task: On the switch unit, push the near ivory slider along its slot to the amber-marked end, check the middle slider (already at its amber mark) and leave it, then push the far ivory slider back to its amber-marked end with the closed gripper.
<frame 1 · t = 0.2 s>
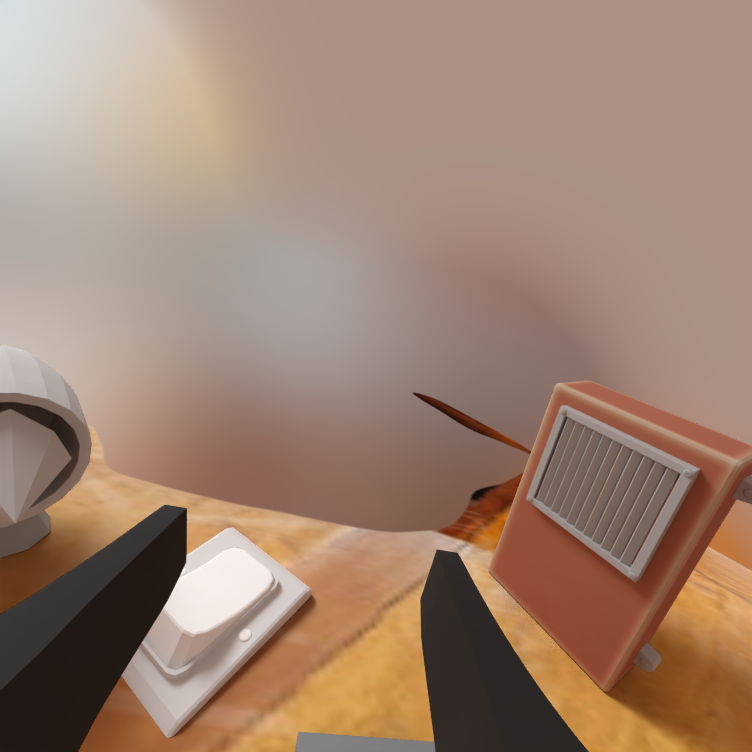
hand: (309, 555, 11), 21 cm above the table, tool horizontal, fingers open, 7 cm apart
control panel: (553, 614, 35), on the table
light switch: (208, 617, 30), on the table
jet engine: (6, 556, 31), on the table
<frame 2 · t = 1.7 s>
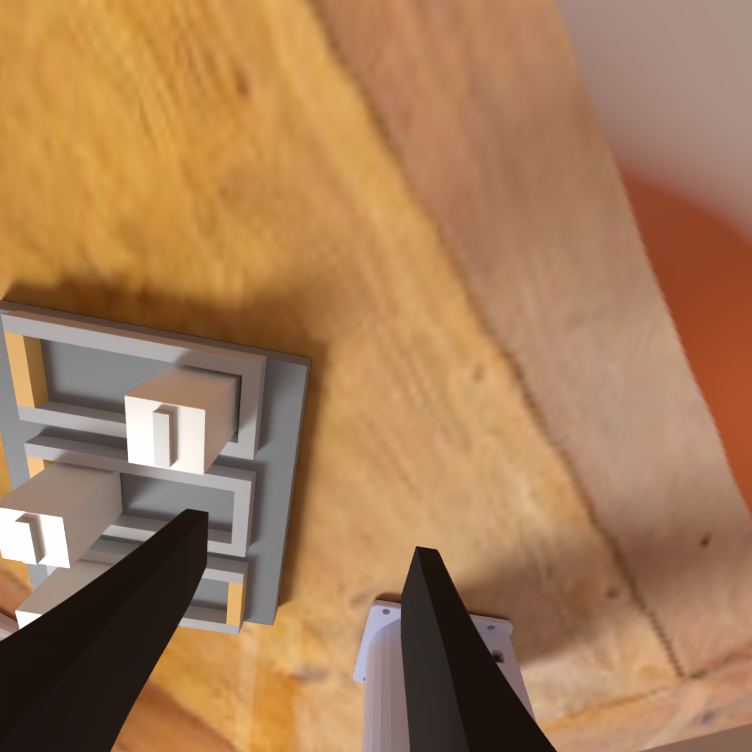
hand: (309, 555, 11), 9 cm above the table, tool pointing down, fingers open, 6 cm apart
switch unit: (162, 479, 21), on the table
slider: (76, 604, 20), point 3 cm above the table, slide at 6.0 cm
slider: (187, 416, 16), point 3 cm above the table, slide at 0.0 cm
slider mid: (62, 511, 18), point 3 cm above the table, slide at 6.0 cm
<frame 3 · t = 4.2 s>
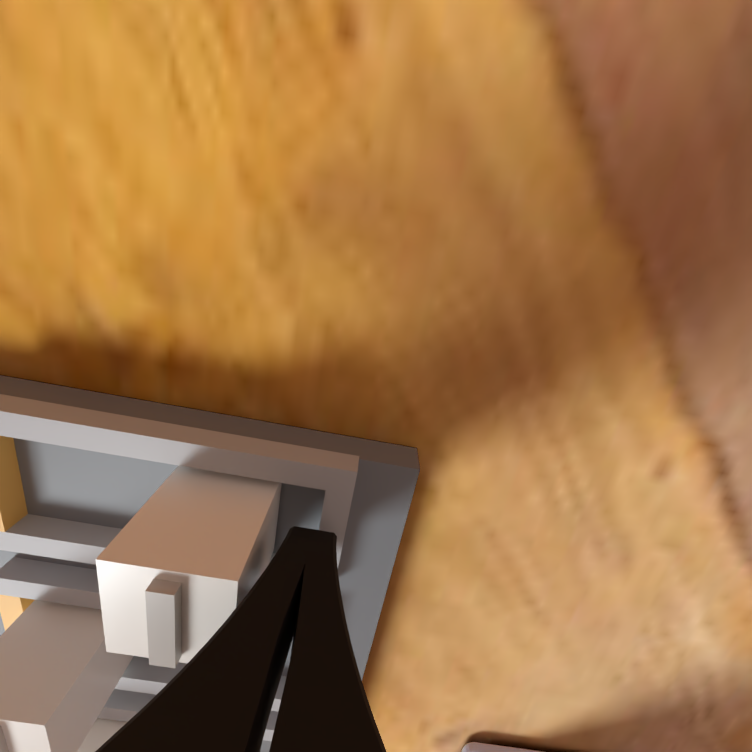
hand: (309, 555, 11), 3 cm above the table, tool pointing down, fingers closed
switch unit: (190, 601, 15), on the table
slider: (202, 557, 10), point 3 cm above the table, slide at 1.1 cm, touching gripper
slider mid: (48, 681, 12), point 3 cm above the table, slide at 6.0 cm
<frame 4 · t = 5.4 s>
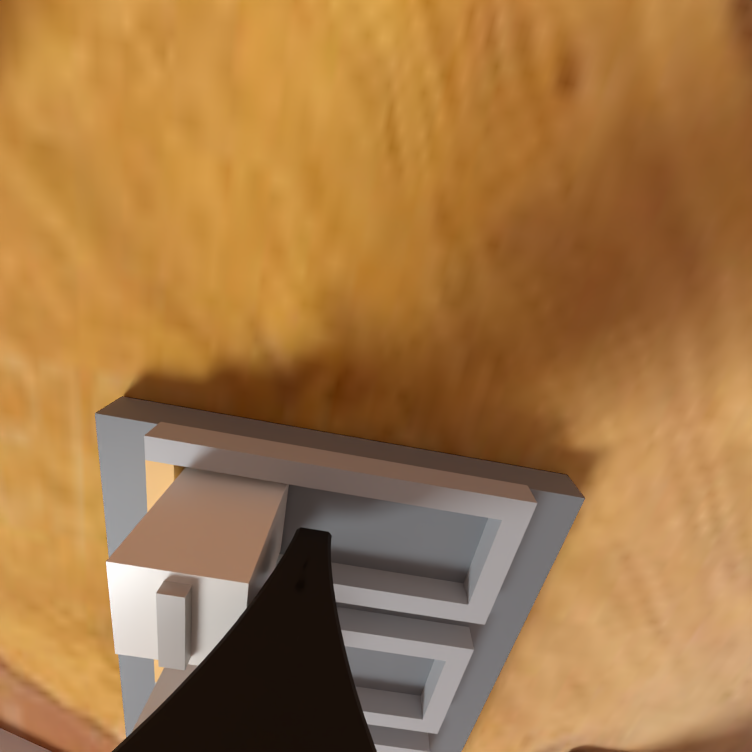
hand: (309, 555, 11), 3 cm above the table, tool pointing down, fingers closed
switch unit: (316, 620, 16), on the table
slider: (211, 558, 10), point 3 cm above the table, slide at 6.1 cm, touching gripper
slider mid: (209, 703, 12), point 3 cm above the table, slide at 6.0 cm
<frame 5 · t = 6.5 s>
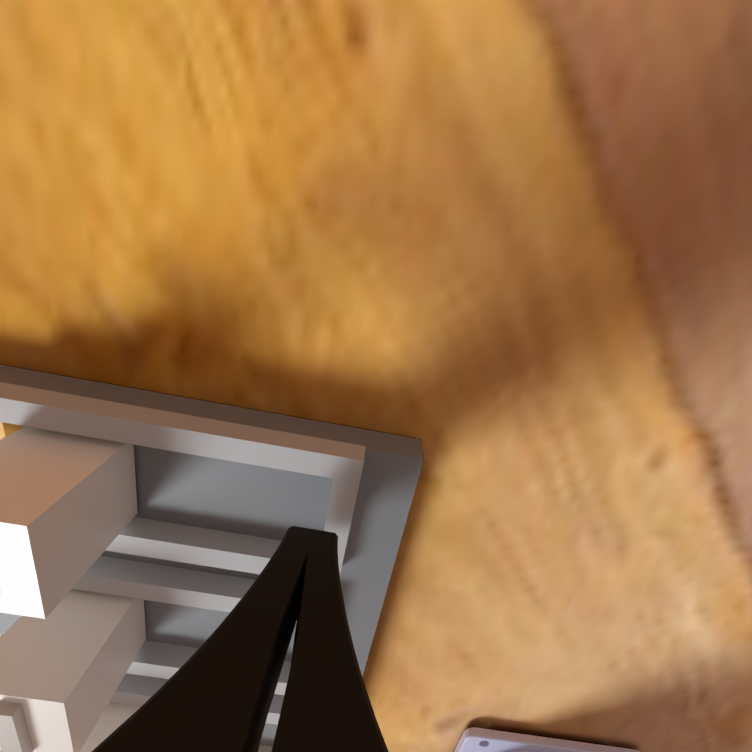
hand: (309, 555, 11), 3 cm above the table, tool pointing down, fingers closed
switch unit: (198, 589, 16), on the table
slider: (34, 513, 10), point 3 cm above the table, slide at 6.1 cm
slider mid: (64, 663, 13), point 3 cm above the table, slide at 6.0 cm
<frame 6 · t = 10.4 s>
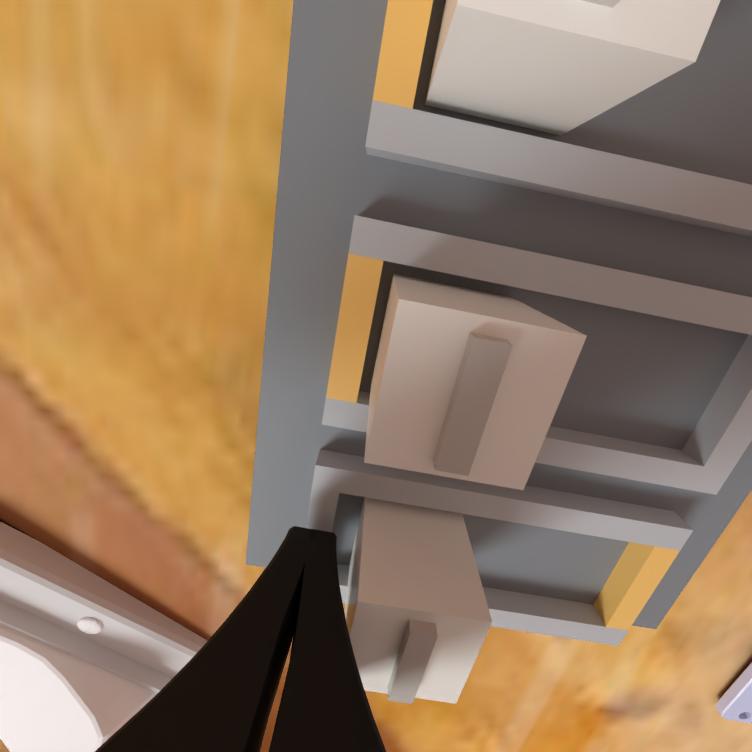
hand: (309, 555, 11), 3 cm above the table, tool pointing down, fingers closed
switch unit: (529, 349, 11), on the table
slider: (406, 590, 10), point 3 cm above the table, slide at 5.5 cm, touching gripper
light switch: (74, 633, 17), on the table
slider mid: (450, 369, 8), point 3 cm above the table, slide at 6.0 cm
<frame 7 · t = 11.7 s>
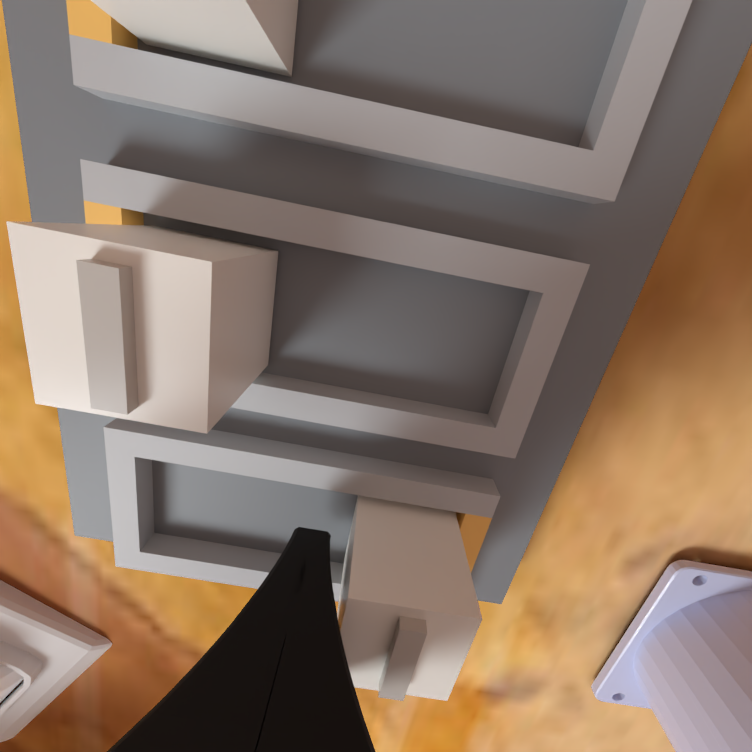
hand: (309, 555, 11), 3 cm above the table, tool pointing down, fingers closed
switch unit: (336, 312, 11), on the table
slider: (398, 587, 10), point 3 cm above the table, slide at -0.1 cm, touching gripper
slider mid: (172, 316, 8), point 3 cm above the table, slide at 6.0 cm
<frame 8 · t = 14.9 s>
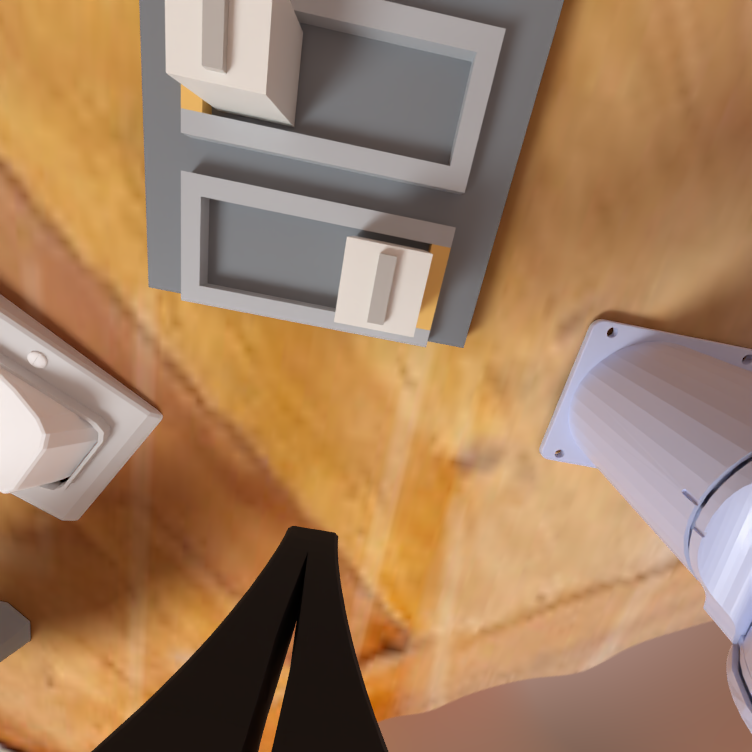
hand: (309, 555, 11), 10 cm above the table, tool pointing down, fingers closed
switch unit: (341, 101, 15), on the table
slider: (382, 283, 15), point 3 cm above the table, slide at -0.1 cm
light switch: (32, 400, 22), on the table
jet engine: (22, 612, 28), on the table
slider mid: (239, 48, 12), point 3 cm above the table, slide at 6.0 cm
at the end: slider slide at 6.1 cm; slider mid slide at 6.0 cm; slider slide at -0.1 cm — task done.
